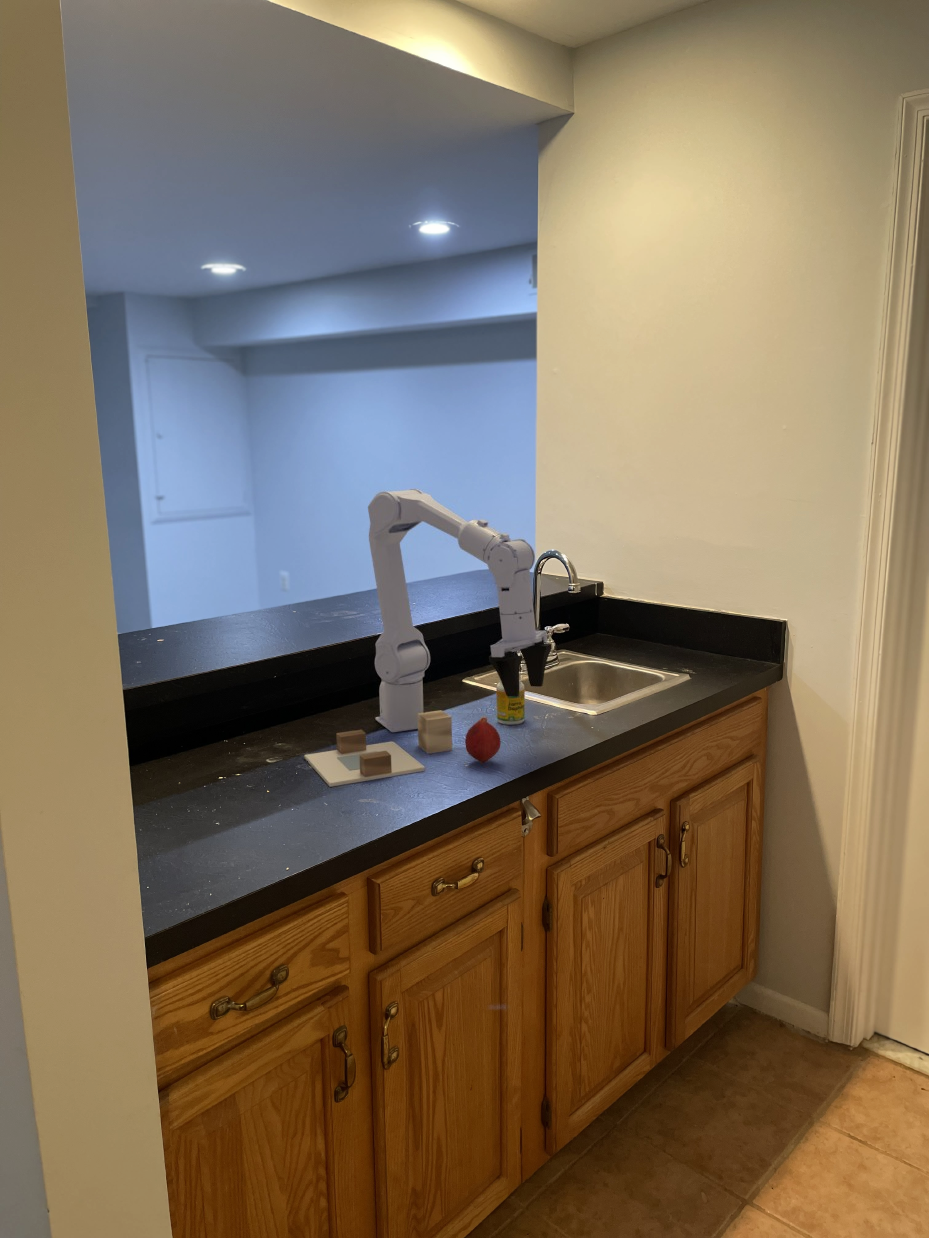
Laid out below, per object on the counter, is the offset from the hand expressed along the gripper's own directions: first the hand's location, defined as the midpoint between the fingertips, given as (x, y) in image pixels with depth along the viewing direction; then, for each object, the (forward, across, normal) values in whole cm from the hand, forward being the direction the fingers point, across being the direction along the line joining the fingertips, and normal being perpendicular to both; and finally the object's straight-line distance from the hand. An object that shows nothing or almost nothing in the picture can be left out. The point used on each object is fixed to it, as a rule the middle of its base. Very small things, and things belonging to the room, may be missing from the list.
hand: (524, 690), depth 160 cm
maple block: (+9, -7, +15) cm, 19 cm away
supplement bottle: (+9, +13, +13) cm, 21 cm away
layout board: (+8, -21, +20) cm, 30 cm away
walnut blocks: (+8, -21, +20) cm, 30 cm away
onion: (+10, -9, +4) cm, 14 cm away
